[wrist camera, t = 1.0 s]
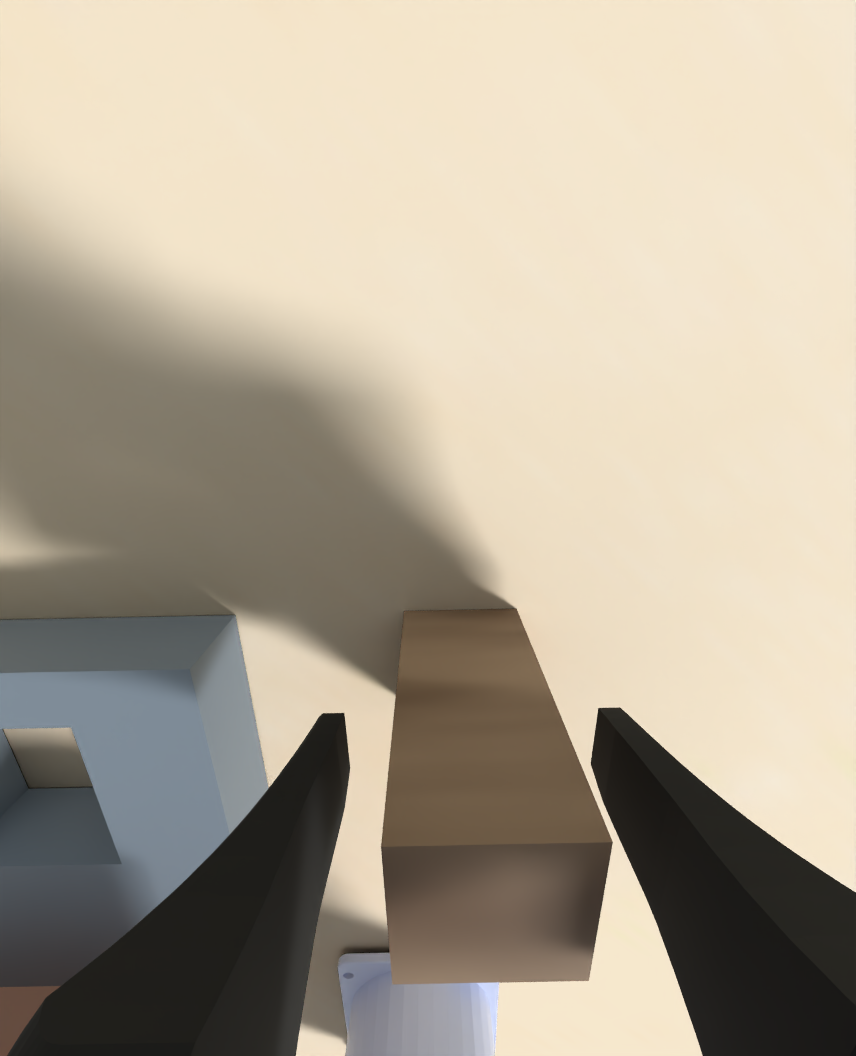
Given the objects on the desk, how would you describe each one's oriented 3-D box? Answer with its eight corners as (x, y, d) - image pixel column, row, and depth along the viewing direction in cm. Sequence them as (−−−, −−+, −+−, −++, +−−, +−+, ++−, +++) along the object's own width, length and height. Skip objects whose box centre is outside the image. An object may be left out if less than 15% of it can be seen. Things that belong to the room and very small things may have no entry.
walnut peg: (511, 700, 16) (588, 980, 8) (408, 702, 16) (392, 984, 8) (516, 608, 15) (612, 842, 7) (404, 611, 15) (381, 847, 7)
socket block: (291, 909, 20) (269, 996, 17) (0, 914, 20) (-72, 1003, 17) (235, 615, 15) (189, 669, 12) (-158, 622, 15) (-297, 678, 12)
